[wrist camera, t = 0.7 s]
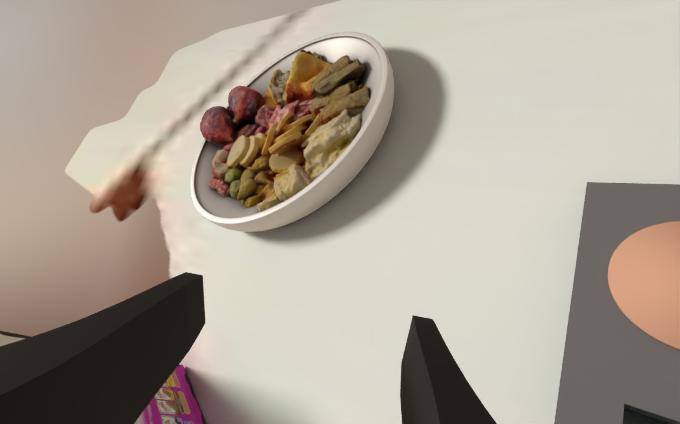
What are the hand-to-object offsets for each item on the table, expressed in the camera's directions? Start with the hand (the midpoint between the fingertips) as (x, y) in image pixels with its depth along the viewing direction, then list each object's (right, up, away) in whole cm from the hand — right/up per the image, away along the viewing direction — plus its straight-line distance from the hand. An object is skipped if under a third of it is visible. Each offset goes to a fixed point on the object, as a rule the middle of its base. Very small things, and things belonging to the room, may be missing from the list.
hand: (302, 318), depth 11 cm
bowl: (-4, +13, +35) cm, 37 cm away
